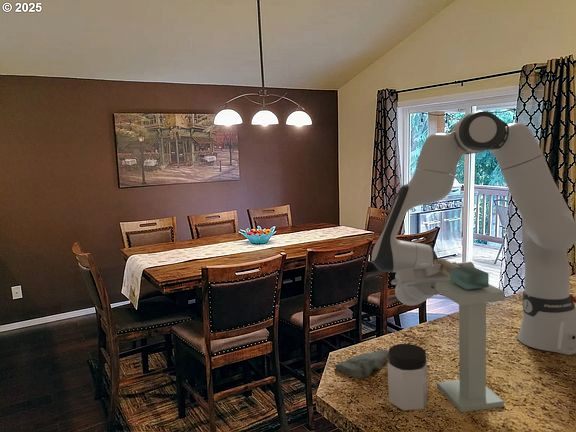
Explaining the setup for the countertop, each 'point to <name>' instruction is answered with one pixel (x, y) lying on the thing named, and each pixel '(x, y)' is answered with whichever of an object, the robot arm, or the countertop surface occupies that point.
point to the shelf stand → (471, 347)
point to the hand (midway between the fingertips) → (447, 266)
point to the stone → (363, 364)
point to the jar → (407, 377)
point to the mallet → (464, 275)
